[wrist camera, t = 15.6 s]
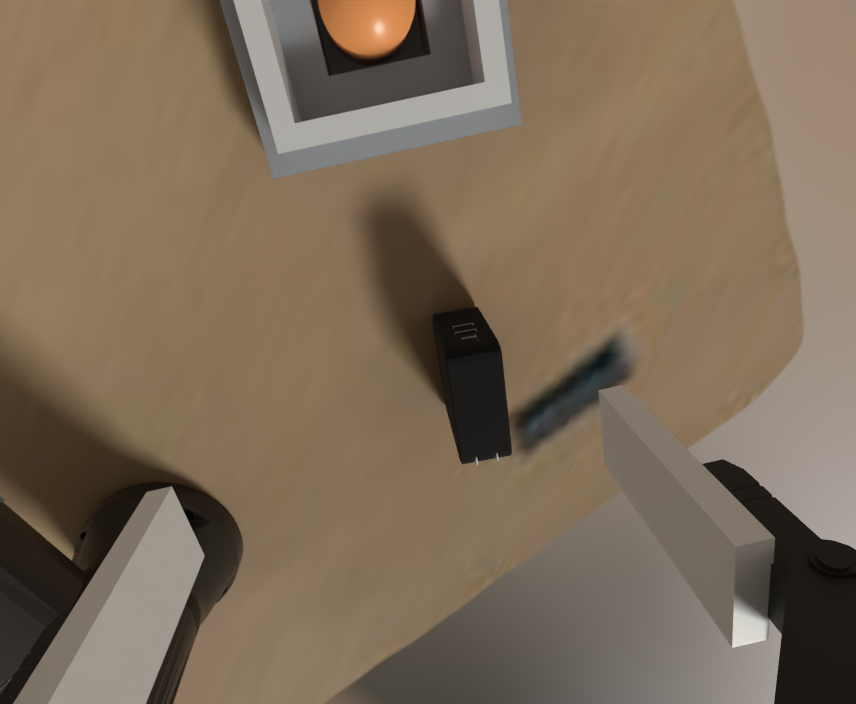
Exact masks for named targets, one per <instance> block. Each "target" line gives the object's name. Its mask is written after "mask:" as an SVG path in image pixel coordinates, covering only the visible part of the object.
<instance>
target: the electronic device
mask: <svg viewBox="0 0 856 704" xmlns="http://www.w3.org/2000/svg"><path fill="white" fill-rule="evenodd" d="M433 327H434V333H435V339H436V346H437V352H438V359H439V365H440V372H441V378H442V384H443V391H444V397H445V404H446V409H447V413H448V417H449V420H450V424H451V428H452V432H453V435H454V439H455V443H456V446H457V450H458V454H459V458H460V460H461V463H462V464H466V463H472V462H474V461H475V463H476V465H478V461H483V460H488V459H494V458H495V459H496V461H499V458H498V457H505V456H510V455H511V454H512V447H511V437H510V428H509V418H508V408H507V399H506V389H505V380H504V370H503V361H502V352H501V348H500V345H499V342H498V340H497V338H496V337H495V335H494V333H493V332H492V330H491V329H490V327H489V325H488V324H487V322H486V320H485V319H484V317H483V315H482V314H481V312H480V310H479V309H478V307H475V308H470V309H464V310H458V311H452V312H447V313H441V314H435V315H433Z"/></svg>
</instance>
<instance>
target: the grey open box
mask: <svg viewBox="0 0 856 704" xmlns="http://www.w3.org/2000/svg"><path fill="white" fill-rule="evenodd" d="M220 4H221V7H222V10H223V14H224V17H225V20H226V24H227V27H228V30H229V34H230V37H231V40H232V44H233V47H234V50H235V54H236V57H237V60H238V64H239V67H240V70H241V74H242V77H243V80H244V84H245V87H246V90H247V94H248V97H249V100H250V104H251V107H252V110H253V114H254V117H255V120H256V124H257V127H258V130H259V134H260V137H261V140H262V144H263V147H264V150H265V154H266V157H267V160H268V164H269V167H270V170H271V174H272V177H273V179H274V178H279V177H283V176H288V175H293V174H297V173H302V172H306V171H311V170H315V169H320V168H325V167H329V166H334V165H338V164H343V163H348V162H352V161H357V160H361V159H366V158H370V157H375V156H380V155H384V154H389V153H393V152H398V151H403V150H407V149H412V148H416V147H421V146H425V145H430V144H435V143H439V142H444V141H448V140H453V139H458V138H462V137H467V136H471V135H476V134H480V133H485V132H490V131H494V130H499V129H503V128H508V127H513V126H517V125H522V121H521V113H520V104H519V96H518V88H517V79H516V71H515V63H514V54H513V46H512V38H511V30H510V21H509V13H508V5H507V0H415V13H414V17H413V21H412V23H411V26H410V29H409V32H408V35H407V38H406V40H405V42H404V44H403V46H402V47H401V49H400V50H399V51H398V52H397V53H396V54H395V55H394V56H393V57H391V58H390V59H388V60H386V61H384V62H382V63H378V64H361V63H358V62H355V61H353V60H351V59H349V58H348V57H346V56H345V55H344V54H343V53H341V52H340V50H339V49H338V48H337V47H336V46H335V44H334V43H333V41H332V39H331V37H330V35H329V33H328V31H327V28H326V26H325V24H324V22H323V19H322V17H321V13H320V10H319V5H318V0H220Z"/></svg>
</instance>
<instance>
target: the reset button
mask: <svg viewBox="0 0 856 704" xmlns="http://www.w3.org/2000/svg"><path fill="white" fill-rule="evenodd" d="M318 5H319V10H320V13H321V17H322V19H323V22H324V24H325V26H326V28H327V31H328V33H329V35H330V37H331V39H332V41H333V43H334V44H335V46H336V47H337V48H338V49H339V50H340V52H341V53H343V54H344V55H345V56H346V57H348V58H349V59H351V60H353V61H355V62H358V63H361V64H378V63H382V62H384V61H386V60H388V59H390V58H391V57H393V56H394V55H395V54H396V53H397V52H398V51H399V50H400V49H401V47H402V46H403V44H404V42H405V40H406V38H407V35H408V32H409V29H410V26H411V23H412V21H413V17H414V13H415V0H318Z"/></svg>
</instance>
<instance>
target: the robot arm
mask: <svg viewBox="0 0 856 704" xmlns="http://www.w3.org/2000/svg"><path fill="white" fill-rule="evenodd" d="M599 400H600V412H601V424H602V436H603V448H604V460H605V466H606V468H607V469H608V471H609V472H610V473H611V475H612V476H613V478H614V479H615V481H616V482H617V483H618V485H619V486H620V488H621V489H622V491H623V492H624V493H625V495H626V496H627V498H628V499H629V501H630V502H631V503H632V505H633V506H634V508H635V509H636V511H637V512H638V513H639V515H640V516H641V517H642V519H643V521H644V522H645V523H646V525H647V526H648V528H649V529H650V531H651V532H652V534H653V535H654V536H655V538H656V539H657V541H658V542H659V544H660V545H661V546H662V548H663V549H664V551H665V552H666V553H667V555H668V556H669V558H670V559H671V561H672V562H673V564H674V565H675V566H676V568H677V569H678V571H679V572H680V574H681V575H682V576H683V578H684V579H685V581H686V582H687V584H688V585H689V587H690V588H691V589H692V591H693V592H694V594H695V595H696V597H697V598H698V599H699V601H700V602H701V604H702V605H703V606H704V608H705V609H706V611H707V612H708V614H709V615H710V617H711V618H712V619H713V621H714V622H715V624H716V625H717V627H718V628H719V629H720V631H721V632H722V634H723V635H724V637H725V638H726V640H727V641H728V642H729V644H730V645H731V647H732V648H733V647H737V646H742V645H746V644H751V643H754V642H759V641H764V640H768V631H769V619H770V620H771V621H772V623H773V624H774V625H775V626H776V628H777V629H778V630H779V631H780V632H781V634H782V639H781V648H780V658H779V666H778V675H777V684H776V692H775V702H774V704H856V550H855V549H854V548H852V547H850V546H848V545H845V544H842V543H839V542H836V541H832V540H823V539H820V538H819V537H818V536H817V535H816V534H815V533H814V532H812V531H811V530H810V529H809V528H808V527H807V526H806V525H805V524H804V523H803V522H801V521H800V520H799V519H798V518H797V517H796V516H795V515H794V514H792V512H790V511H789V510H788V509H787V508H786V507H785V506H784V505H783V504H782V503H781V502H779V501H778V500H777V499H776V498H775V497H774V498H773V497H772V495H771V494H770V493H769V492H768V491H767V490H766V489H765V488H764V487H763V486H760V485H759V483H758V482H757V481H756V480H755V479H754V478H753V477H752V476H751V475H749V474H748V473H747V472H746V471H745V470H744V469H742V468H740V467H738V466H736V465H734V464H731V463H729V462H727V461H725V460H718V461H714V462H709V463H705V464H701V463H700V462H699V461H698V460H697V459H696V458H695V457H694V456H693V455H692V454H691V453H690V452H689V451H688V450H687V449H686V448H685V447H684V446H683V445H682V444H681V443H680V442H679V441H678V440H677V439H676V437H675V436H674V435H673V434H672V433H671V432H670V431H669V430H668V429H667V428H666V427H665V426H664V425H663V424H662V423H661V422H660V421H659V420H658V419H657V418H656V417H655V416H654V415H653V414H652V413H651V412H650V411H649V410H648V409H647V408H646V407H645V406H644V405H643V404H642V403H641V402H640V401H639V400H638V399H637V398H636V397H635V396H634V395H633V394H632V393H631V392H630V391H629V390H628V389H627V388H626V387H625V386H624V385H621V386H617V387H612V388H608V389H603V390H599ZM4 501H5V500H4V499H3V498H2V497H0V704H173V702H174V699H175V697H176V694H177V691H178V688H179V685H180V682H181V679H182V676H183V673H184V670H185V667H186V664H187V661H188V658H189V655H190V652H191V649H192V647H193V644H194V641H195V638H196V635H197V632H198V630H199V627H200V625H201V623H202V622H203V621H204V620H205V618H206V617H207V616H208V614H209V613H210V611H211V610H212V608H213V606H214V605H215V604H216V603H217V602H218V601H219V600H220V599H221V598H222V597H223V596H224V595H225V594H226V593H227V591H228V590H229V589H230V587H231V585H232V583H233V582H234V580H235V577H236V575H237V571H238V568H239V565H240V562H241V558H242V553H243V542H242V537H241V533H240V531H239V528H238V526H237V524H236V523H235V521H234V519H233V518H232V517H231V515H230V514H229V513H228V512H227V511H226V510H225V509H224V508H223V507H222V506H221V505H220V504H218V503H217V502H216V501H214V500H213V499H211V498H210V497H208V496H206V495H204V494H202V493H200V492H198V491H196V490H193V489H190V488H187V487H183V486H179V485H174V484H165V483H149V484H141V485H135V486H132V487H128V488H125V489H123V490H120V491H118V492H116V493H114V494H112V495H111V496H109V497H108V498H106V499H105V500H104V501H103V502H101V503H100V504H99V505H98V506H97V508H96V509H95V510H94V511H93V513H92V514H91V516H90V517H89V518H88V520H87V521H86V522H85V524H84V525H83V527H82V529H81V531H80V533H79V535H78V538H77V541H76V545H75V551H74V555H73V559H72V561H71V560H70V559H69V558H67V557H66V556H65V555H64V554H63V553H62V552H60V551H59V550H58V549H57V548H56V547H55V546H53V545H52V544H51V543H50V542H49V541H48V540H46V539H45V538H44V537H43V536H42V535H41V534H40V533H38V532H37V531H36V530H35V529H34V528H33V527H31V526H30V525H29V524H28V523H27V522H26V521H24V520H23V519H22V518H21V517H20V516H19V515H18V514H16V513H15V512H14V511H13V510H12V509H11V508H9V507H8V506H7V505H6V504H5V503H4Z"/></svg>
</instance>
